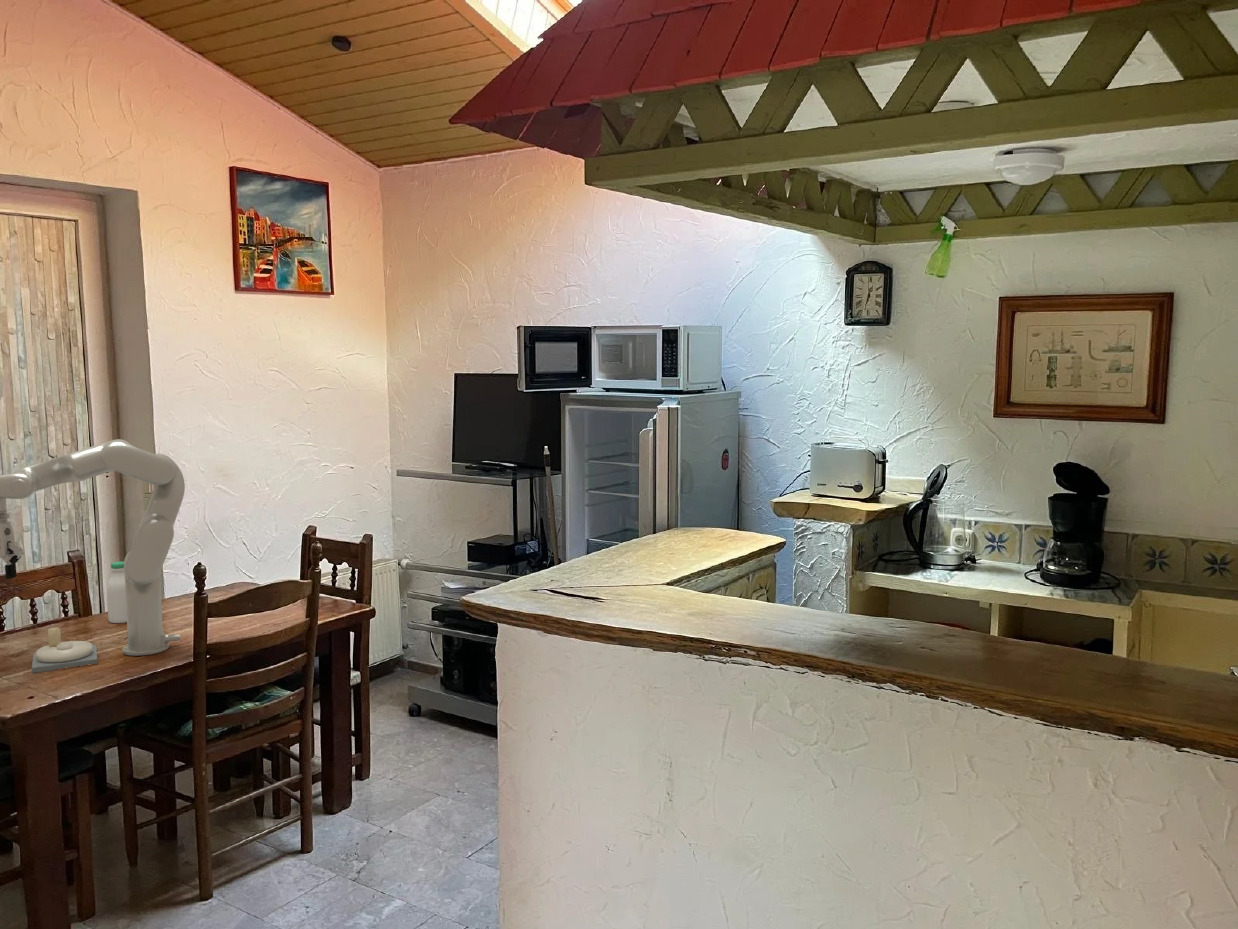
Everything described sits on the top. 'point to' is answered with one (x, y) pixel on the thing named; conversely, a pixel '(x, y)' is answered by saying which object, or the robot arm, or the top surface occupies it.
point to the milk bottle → (117, 594)
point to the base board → (48, 666)
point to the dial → (63, 648)
